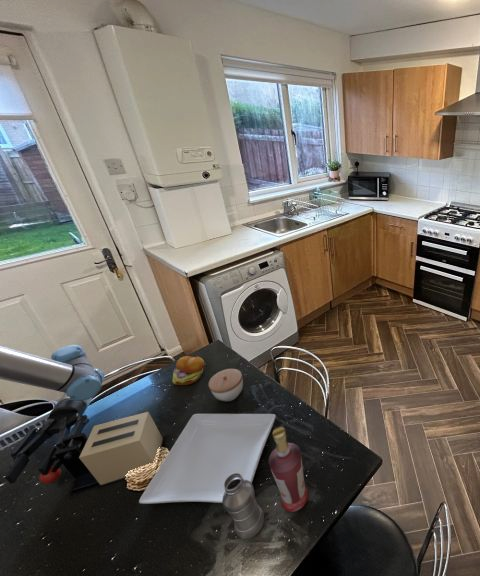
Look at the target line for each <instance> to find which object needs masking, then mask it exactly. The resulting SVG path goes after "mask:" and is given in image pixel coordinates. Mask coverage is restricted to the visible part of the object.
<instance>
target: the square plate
mask: <svg viewBox="0 0 480 576" xmlns="http://www.w3.org/2000/svg"><path fill="white" fill-rule="evenodd" d="M276 417H277V415H276V414H274V413H194V414H192V416H190V418H189V420H188V422H187V423H186V424H185V427H184V428H183V430H182V431H181V433H180V434H179V436H178V437H177V439H176V441H175V443H174V444H173V446H172V447H171V449H170V450H169V452H168V453H167V455H166V456H165V459H163V461H162V463H161V464H160V466H159V467H158V468H157V471H156V473H155V474H154V476H153V477H152V478H151V481H150V482H149V484H147V487H146V488H145V490H144V491H143V493H142V494H141V496H140V498H139V500H138V503H139V504H141V505H151V504H166V503H167V504H168V503H187V502H188V503H189V502H191V503H192V502H197V503H198V502H199V503H200V502H201V503H218V504H222V500H223V494H224V492H225V488H224V482H225V480H226V479H227V478H228V477H229V476H230V475H231V474H234V473H239V474H241V475H242V478H243V479H246V480H248V481H250V482H251V483H252V484H253V481H254V477H255V474H256V471H257V469H258V465H259V462H260V459H261V456H262V455H263V452H264V448H265V446H266V443H267V440H268V438H269V435H270V433H271V430H272V428H273V426H274V423H275V421H276Z"/></svg>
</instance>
